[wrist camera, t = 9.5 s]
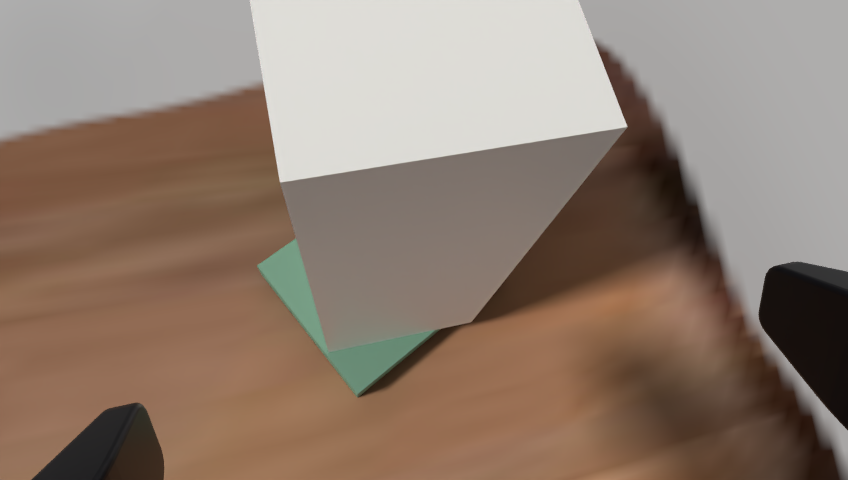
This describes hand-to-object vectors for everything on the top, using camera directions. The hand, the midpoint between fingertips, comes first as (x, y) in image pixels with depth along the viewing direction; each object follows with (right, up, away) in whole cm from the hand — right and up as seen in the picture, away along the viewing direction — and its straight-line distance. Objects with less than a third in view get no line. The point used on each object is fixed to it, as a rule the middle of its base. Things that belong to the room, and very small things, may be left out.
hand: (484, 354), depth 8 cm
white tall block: (-2, +1, +11) cm, 11 cm away
